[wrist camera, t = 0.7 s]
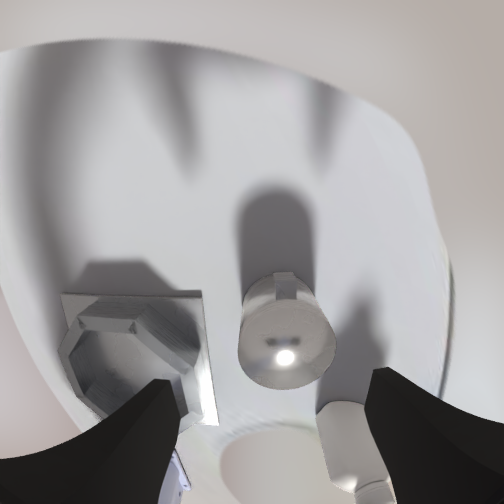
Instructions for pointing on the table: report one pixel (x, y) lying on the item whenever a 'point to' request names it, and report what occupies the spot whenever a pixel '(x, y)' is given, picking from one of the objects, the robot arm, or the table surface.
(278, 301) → the silver short rounded cylinder
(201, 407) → the collar
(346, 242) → the table surface
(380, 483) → the eye dropper bottle
